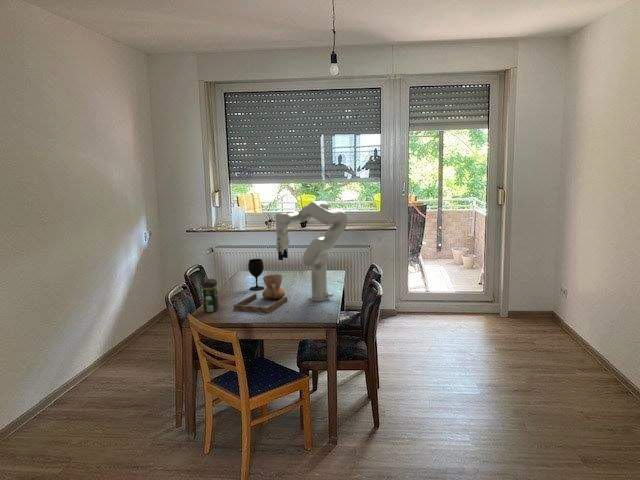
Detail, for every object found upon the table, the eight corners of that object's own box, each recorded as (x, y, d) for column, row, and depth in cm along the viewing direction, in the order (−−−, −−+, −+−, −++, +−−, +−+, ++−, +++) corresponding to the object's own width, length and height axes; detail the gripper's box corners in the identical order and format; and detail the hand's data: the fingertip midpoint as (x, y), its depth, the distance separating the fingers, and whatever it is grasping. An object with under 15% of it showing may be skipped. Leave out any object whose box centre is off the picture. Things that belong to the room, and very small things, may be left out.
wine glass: (261, 290, 334) (260, 261, 331) (247, 290, 336) (245, 261, 333) (266, 287, 344) (265, 258, 341) (252, 286, 346) (250, 258, 343)
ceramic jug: (262, 294, 324) (261, 273, 322) (285, 293, 325) (284, 272, 323) (262, 303, 307) (260, 281, 304) (285, 301, 308) (284, 279, 305)
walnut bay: (287, 301, 308) (287, 296, 307) (268, 313, 285) (268, 308, 284) (254, 298, 316) (254, 294, 316) (233, 309, 293) (233, 305, 293)
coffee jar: (207, 308, 299) (205, 277, 296) (220, 308, 298) (218, 277, 295) (201, 312, 289) (199, 281, 286) (215, 313, 288) (213, 281, 285)
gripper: (281, 233, 314) (282, 261, 317) (292, 230, 330) (293, 256, 333) (270, 233, 317) (272, 261, 320) (282, 229, 333) (283, 256, 336)
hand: (283, 258), depth 326 cm, fingers open, 6 cm apart
